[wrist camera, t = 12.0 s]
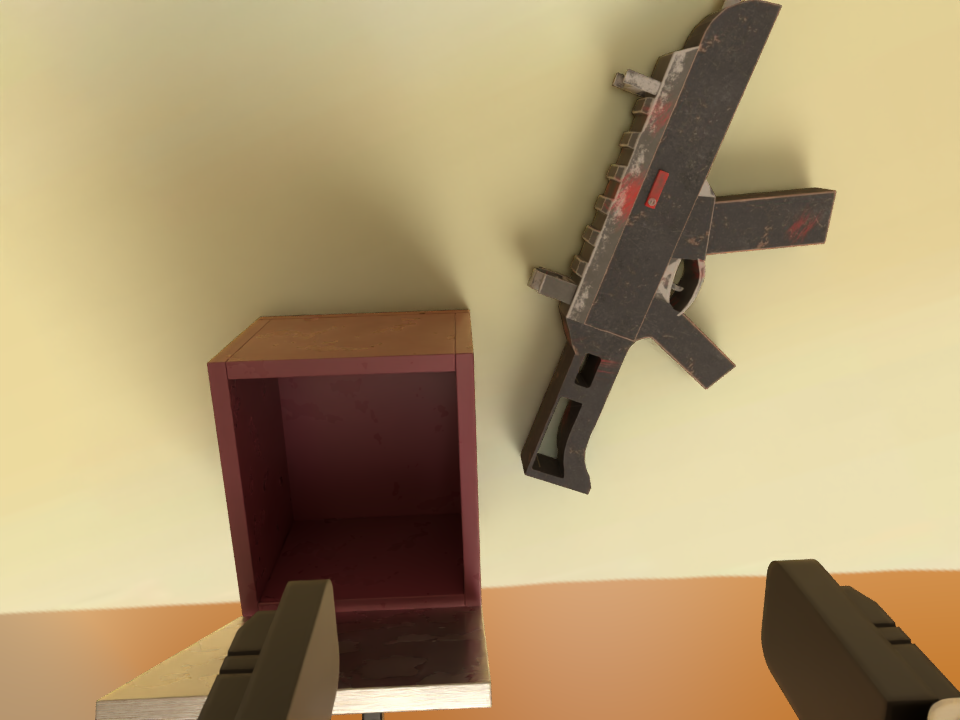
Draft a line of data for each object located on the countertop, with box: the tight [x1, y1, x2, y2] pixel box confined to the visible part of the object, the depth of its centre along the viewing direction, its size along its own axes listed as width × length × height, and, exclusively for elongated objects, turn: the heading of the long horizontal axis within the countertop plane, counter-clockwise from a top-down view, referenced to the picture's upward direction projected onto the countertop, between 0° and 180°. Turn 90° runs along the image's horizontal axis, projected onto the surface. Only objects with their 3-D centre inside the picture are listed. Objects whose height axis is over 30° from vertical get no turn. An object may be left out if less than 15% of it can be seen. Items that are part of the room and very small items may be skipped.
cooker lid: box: [95, 606, 492, 720], centre depth 30 cm, size 15×13×6 cm
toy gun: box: [520, 0, 836, 494], centre depth 42 cm, size 3×32×15 cm
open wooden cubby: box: [207, 310, 482, 616], centre depth 41 cm, size 14×13×10 cm
